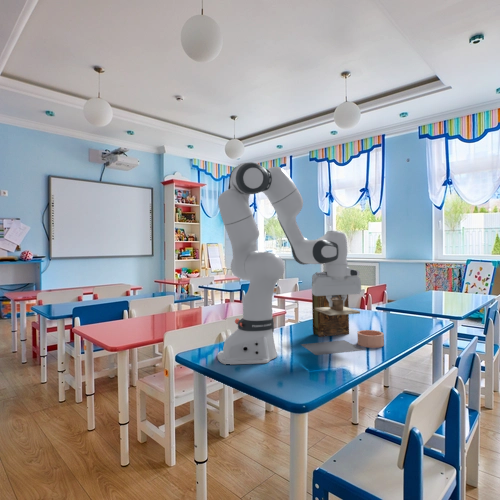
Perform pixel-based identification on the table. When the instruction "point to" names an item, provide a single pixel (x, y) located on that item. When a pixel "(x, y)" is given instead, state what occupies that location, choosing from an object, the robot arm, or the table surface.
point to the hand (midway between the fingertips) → (336, 306)
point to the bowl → (370, 338)
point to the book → (328, 318)
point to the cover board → (332, 312)
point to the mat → (331, 347)
